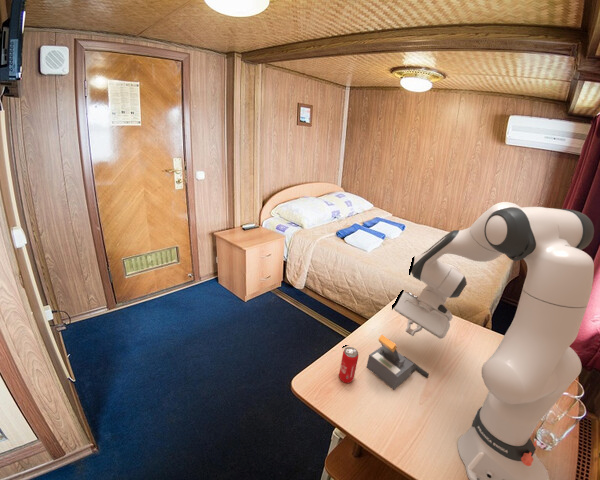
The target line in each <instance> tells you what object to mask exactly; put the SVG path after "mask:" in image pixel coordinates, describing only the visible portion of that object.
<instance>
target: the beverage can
mask: <svg viewBox="0 0 600 480" xmlns="http://www.w3.org/2000/svg"><path fill="white" fill-rule="evenodd" d="M343 349H344V350H343V351H342V357H341V362H340V367H339V368H340V369H339V372H338V376H339V378H340V381H341V382H342V383H345V384H350V383H351V382H353V380H354V379H355V375H356V369H357V365H358V361H359V360H358V359H359V352H358V349H356V348H355V347H352V346H346V347H344V348H343Z"/></svg>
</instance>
